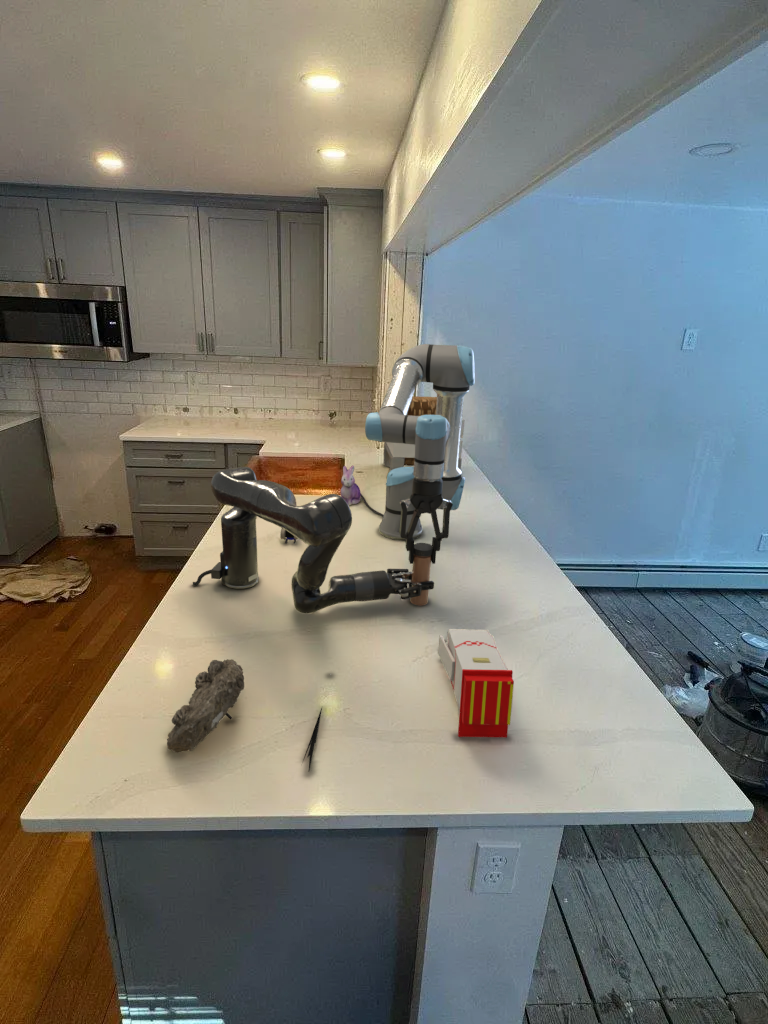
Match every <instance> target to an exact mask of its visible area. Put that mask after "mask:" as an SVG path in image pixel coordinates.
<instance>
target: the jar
mask: <svg viewBox="0 0 768 1024" xmlns="http://www.w3.org/2000/svg"><path fill="white" fill-rule="evenodd" d="M431 557H432V555H430V556H426V557H422V556H417V555H415V554H414V556H413V564H411V565H412V566H411V568H412V569H411V572H412V579H411V580H412V581H413V582H424V581H431V568H432V561H431ZM413 586H416V585H412V587H413ZM414 593H416V592H414ZM429 593H430V590H422V591H421V595H420V596H416V597H412V598H409V602H410V603H411V604H412V605H414V606H420V607H421V606H425V605H427V604H428V603H429Z"/></svg>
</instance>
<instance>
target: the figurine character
mask: <svg viewBox="0 0 768 1024" xmlns="http://www.w3.org/2000/svg"><path fill="white" fill-rule="evenodd" d="M279 537H280V540H284V544H288V541H293V544H294V545H295V544H296V543H297V540H299V539H298V538H297V537H295V536H294V535H293V534H291V533H290V532H288V531H287V530H285V529H283V528H280V535H279Z"/></svg>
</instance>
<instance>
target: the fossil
mask: <svg viewBox="0 0 768 1024" xmlns="http://www.w3.org/2000/svg"><path fill="white" fill-rule="evenodd" d="M243 670H244V669H243V667H242V665H240V664H237V662H236V661H235V660H234V659H232V658H231V659H227V658H226V659H224V660H223V661H222V660H217V659H212V660H211V661H210V663H209V665H208V666H207V671H201V672H199V673H198V674H197V675H196V676H195V680H194V684H195V685H194V687H195V689H194V690H193V693H192V694H191V697H190V698H189V700H188V704H184V705H182V706H181V707H180V709H177V710H176V711H175V713H174V715H173V716H172V718H171V723H172V724H173V727H172V730H171V731H170V732H168V734H167V738H166V741H167V742H166V745H167V749H168V750H169V751H173V752H174V753H176V754H178V753H182V752H188V751H189V752H192V751H193V750H195V748H196V747H197V746H199V744H200V743H201V742H203V741H204V740H205V739H206V738H207V737H208V736H209V735H210V734H211V733H212V732H214V730H215V729H217V727H218V726H219V724H220V722H221V721H222V720H223V719H224V718H225V716H226V717H227V719H229V720H233V717H232V715H230V714H229V710H230V709H231V708H234V706H235V704H236V703H237V702H238V699H239V697H240V695H241V693H242V691H243V690H245V689H244V688H245V675H244V671H243Z"/></svg>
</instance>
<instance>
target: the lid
mask: <svg viewBox="0 0 768 1024" xmlns="http://www.w3.org/2000/svg"><path fill="white" fill-rule="evenodd" d="M414 554H415V555H417V556H422V557H426V556H430V555H432V554H433V546H432V544H430V543H426V542H416V543H414Z"/></svg>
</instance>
